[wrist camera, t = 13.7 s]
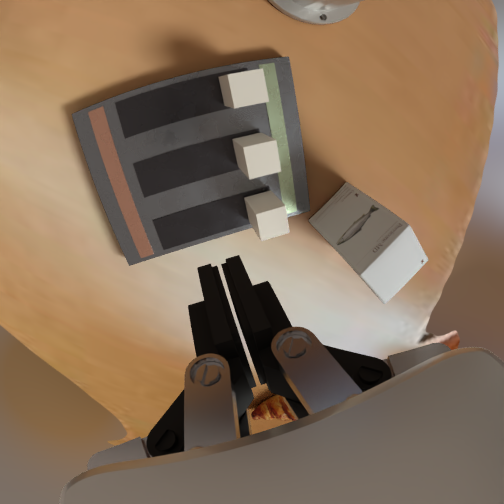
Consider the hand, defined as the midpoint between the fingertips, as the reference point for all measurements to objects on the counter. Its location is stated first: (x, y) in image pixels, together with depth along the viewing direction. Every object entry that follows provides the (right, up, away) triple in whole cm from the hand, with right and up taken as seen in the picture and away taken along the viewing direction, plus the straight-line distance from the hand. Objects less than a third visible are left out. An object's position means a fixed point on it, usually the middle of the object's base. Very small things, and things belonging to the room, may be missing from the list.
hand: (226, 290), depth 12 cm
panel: (-5, +11, +18) cm, 22 cm away
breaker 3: (+2, +6, +21) cm, 22 cm away
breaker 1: (0, +17, +14) cm, 22 cm away
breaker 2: (+1, +12, +17) cm, 21 cm away
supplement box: (+13, +6, +27) cm, 31 cm away
